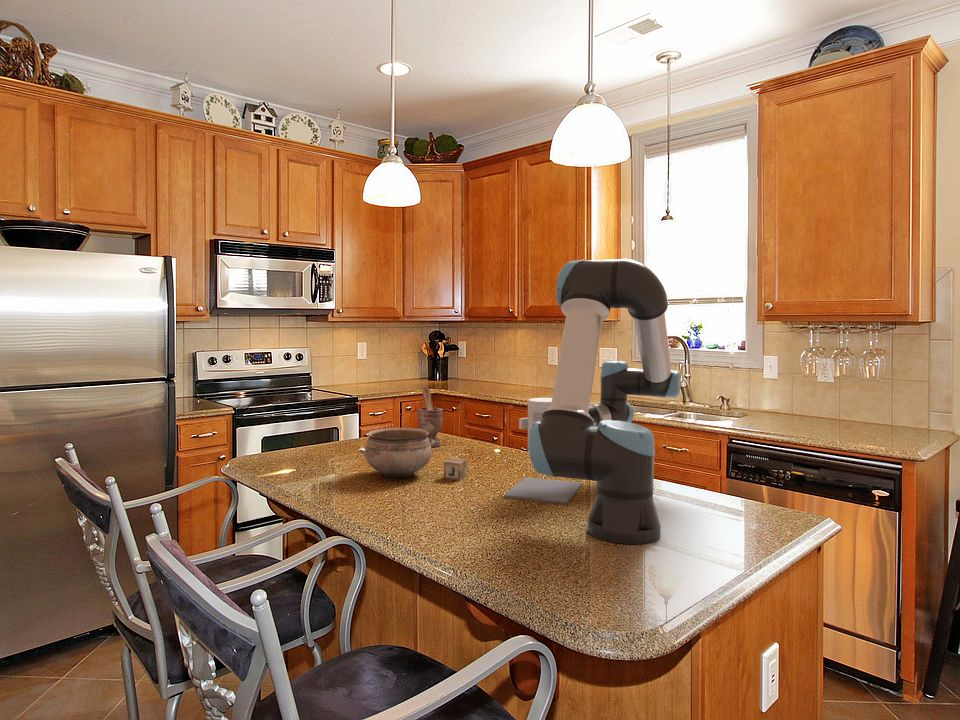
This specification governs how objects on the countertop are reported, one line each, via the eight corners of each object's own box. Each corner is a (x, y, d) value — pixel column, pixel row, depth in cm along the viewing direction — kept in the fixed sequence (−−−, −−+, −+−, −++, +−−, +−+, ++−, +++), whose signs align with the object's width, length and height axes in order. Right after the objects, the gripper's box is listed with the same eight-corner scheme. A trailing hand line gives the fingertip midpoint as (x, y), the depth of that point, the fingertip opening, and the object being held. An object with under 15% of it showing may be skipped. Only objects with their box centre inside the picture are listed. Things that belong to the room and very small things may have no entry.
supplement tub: (571, 456, 169) (572, 400, 168) (543, 460, 164) (544, 402, 163) (547, 449, 177) (548, 396, 176) (519, 453, 172) (520, 398, 171)
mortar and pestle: (408, 443, 233) (409, 388, 231) (428, 441, 238) (429, 386, 237) (426, 448, 223) (426, 391, 222) (446, 446, 229) (447, 389, 227)
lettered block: (459, 481, 180) (459, 463, 180) (443, 479, 182) (443, 461, 182) (466, 476, 185) (467, 459, 185) (450, 475, 187) (450, 458, 187)
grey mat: (566, 504, 159) (566, 501, 159) (503, 497, 164) (504, 494, 164) (582, 485, 178) (582, 482, 178) (525, 479, 183) (525, 477, 183)
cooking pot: (378, 489, 170) (379, 443, 170) (342, 475, 185) (342, 433, 184) (453, 475, 187) (453, 433, 186) (414, 463, 201) (415, 424, 200)
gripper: (622, 437, 173) (565, 448, 159) (561, 426, 190) (504, 434, 176) (623, 409, 173) (566, 417, 158) (561, 400, 190) (505, 407, 175)
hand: (533, 426), depth 167 cm, fingers closed on supplement tub, 9 cm apart
